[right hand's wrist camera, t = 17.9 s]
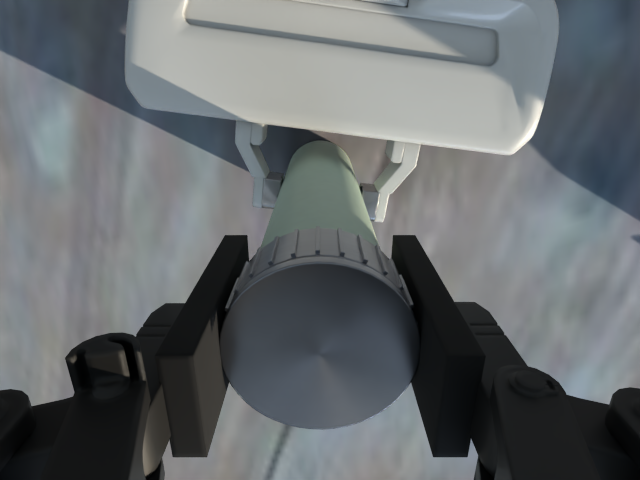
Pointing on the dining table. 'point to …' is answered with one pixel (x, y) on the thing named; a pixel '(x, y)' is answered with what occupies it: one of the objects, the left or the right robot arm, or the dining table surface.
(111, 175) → the dining table surface
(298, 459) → the dining table surface
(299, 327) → the lid
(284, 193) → the jar
